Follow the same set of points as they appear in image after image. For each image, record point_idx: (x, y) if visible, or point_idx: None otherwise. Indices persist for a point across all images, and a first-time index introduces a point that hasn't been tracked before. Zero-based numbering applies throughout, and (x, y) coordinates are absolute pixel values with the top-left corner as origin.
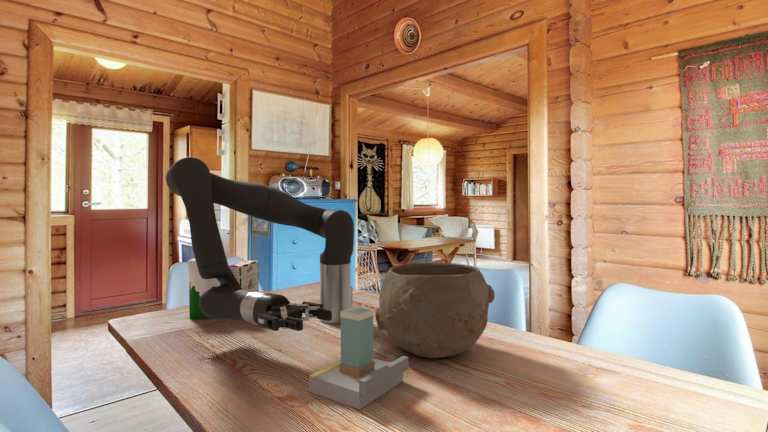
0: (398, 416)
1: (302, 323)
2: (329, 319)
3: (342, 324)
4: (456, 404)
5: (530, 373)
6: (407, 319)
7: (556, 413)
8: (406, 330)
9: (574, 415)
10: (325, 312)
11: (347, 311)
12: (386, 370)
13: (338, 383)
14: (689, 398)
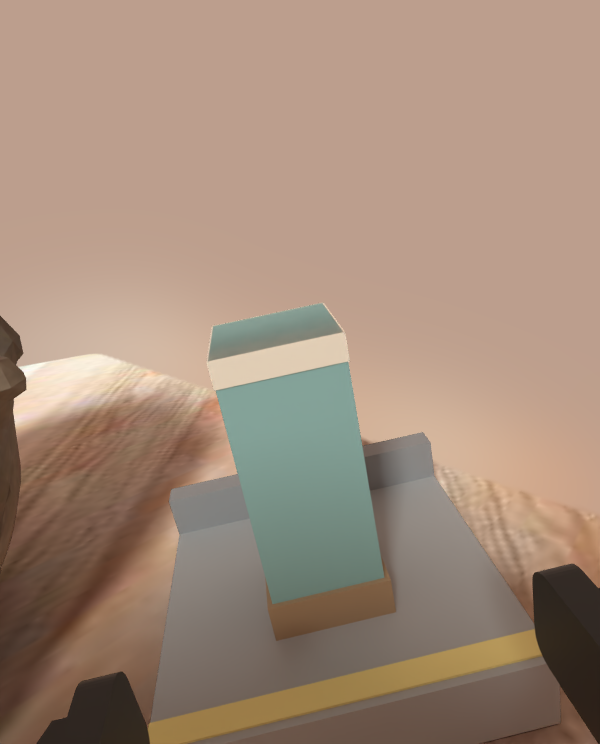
0: None
1: (538, 591)
2: (145, 731)
3: (351, 394)
4: None
5: None
6: (5, 452)
7: (173, 401)
8: (5, 515)
9: (167, 394)
10: (112, 741)
11: (313, 329)
12: None
13: (460, 538)
14: (44, 380)
